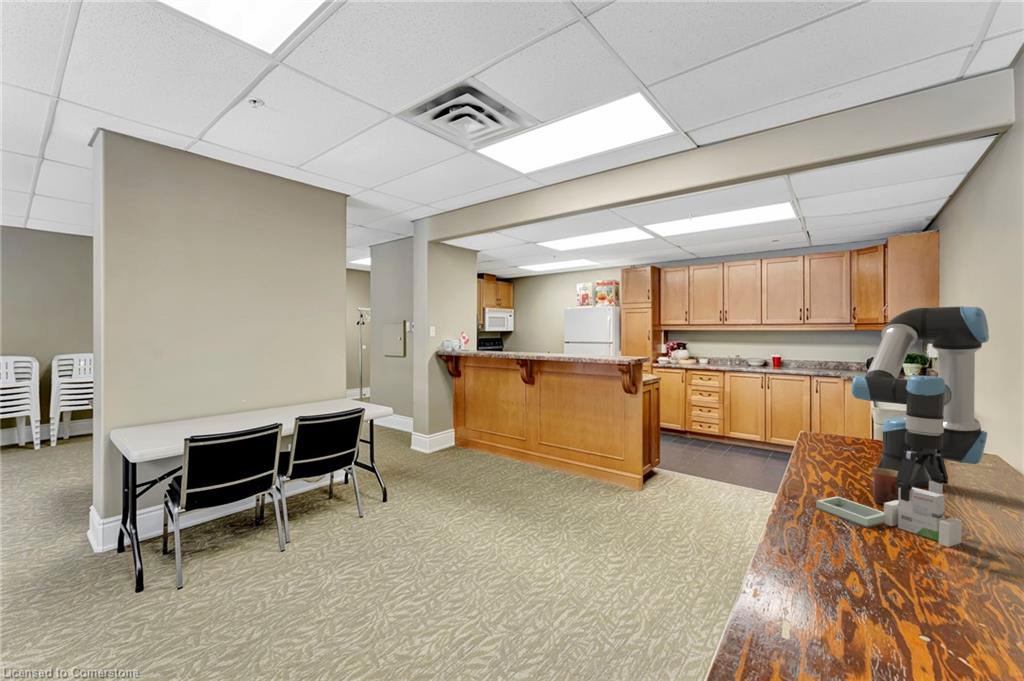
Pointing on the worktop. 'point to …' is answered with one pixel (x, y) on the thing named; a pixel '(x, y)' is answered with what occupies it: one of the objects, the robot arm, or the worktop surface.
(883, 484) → the mug
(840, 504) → the pale green tray
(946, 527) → the white block pair
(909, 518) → the ink box
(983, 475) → the worktop surface
